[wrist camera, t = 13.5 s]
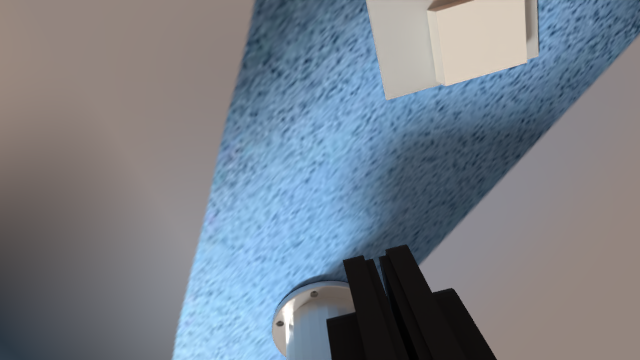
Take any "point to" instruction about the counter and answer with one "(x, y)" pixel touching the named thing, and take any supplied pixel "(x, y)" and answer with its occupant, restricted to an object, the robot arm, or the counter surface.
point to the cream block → (476, 38)
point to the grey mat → (418, 42)
